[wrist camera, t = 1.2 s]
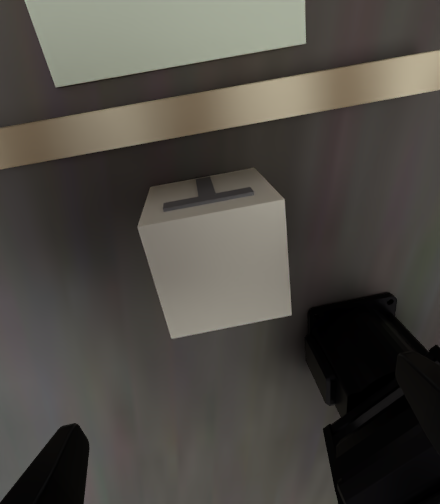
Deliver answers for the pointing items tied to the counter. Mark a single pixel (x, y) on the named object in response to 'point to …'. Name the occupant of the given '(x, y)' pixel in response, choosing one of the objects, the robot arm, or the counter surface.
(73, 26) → the sage mat
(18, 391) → the counter surface
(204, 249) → the letter cube
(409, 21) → the counter surface
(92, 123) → the birch screen
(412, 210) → the counter surface
